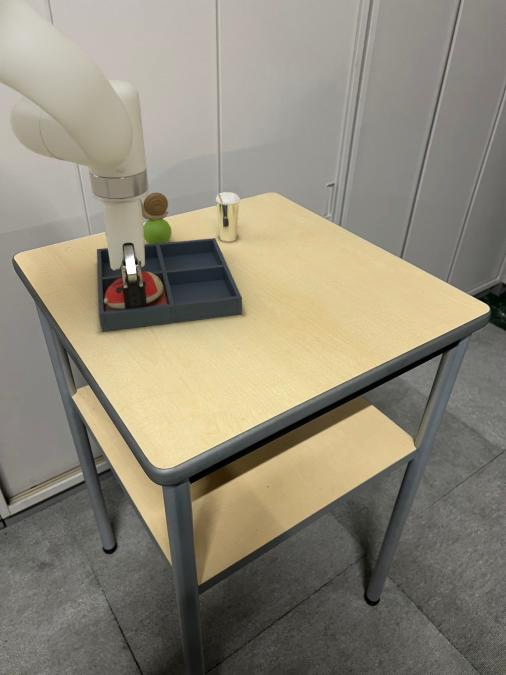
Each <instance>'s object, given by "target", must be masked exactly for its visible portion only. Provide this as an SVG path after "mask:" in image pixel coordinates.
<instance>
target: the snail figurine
mask: <svg viewBox="0 0 506 675" xmlns="http://www.w3.org/2000/svg"><path fill="white" fill-rule="evenodd" d="M141 207H142V217H143V218H144V219H146V220H147V221H146V222H145V223H143V228H144V242H146V243H147V244H156V243H159V244H160V243H168V242H170V240H171V238H172V234H173V233H172V227H171V225H170V224H169V223H168V221H167V220H166V219H165V218H166V217H167V216H168V214H169V211H168V207H169V201H168V198H167V197H166V195H164V194H163V193H161V192H152V193H150V194H149V193H148V194H147V195H146V196H145V197H144V200H143V201H142V200H141Z"/></svg>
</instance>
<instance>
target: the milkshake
mask: <svg viewBox="0 0 506 675" xmlns="http://www.w3.org/2000/svg"><path fill="white" fill-rule="evenodd" d="M240 202H241V198H240V196H239V195H238V194H237V193H235V192H232V191H230V192H229V191H223V192H220V193H218V194H217V195H216V197H215V204H216V205H215V206H216V212H217V221H218V232H219V238H220V240H221V241H222V242H228V243H229V242H234V241H235V240H237V237H238V236H237V233H238V221H239V210H240Z"/></svg>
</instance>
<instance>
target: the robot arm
mask: <svg viewBox="0 0 506 675" xmlns="http://www.w3.org/2000/svg"><path fill="white" fill-rule="evenodd" d="M0 83H1V84H2V85H5V86H7V87H8V88H11V89H12V90H14V91H15V92H17V93H19V97H17V99H16V100H15V101H14V103H13V105H12V107H11V110H10V116H9V119H10V126H11V130H12V132H13V134H14V136H15V138H16V139H17V141H19V143H20V144H21V145H23V147H25V148H26V149H27V150H30V151H31V152H33V153H35V154H37V155H40V156H44V157H48V158H52V159H55V160H58V161H64V162H69V163H72V164H73V163H74V164H76V165H77V164H78V165H81V166H85V167H87V168H88V175H89V180H90V186H91V192H92V197H93V198H94V199H95V200H98V201H100V202H101V210H102V219H103V220H102V221H103V227H104V233H105V238H106V245H107V248H108V252H109V259H110V266H111V269H112V270H114V271H115V270H116V269H121V276H122V278H123V285H122V290H123V297H124V303H125V309H131V308H140V307H147V301H146V292H145V284H144V283H143V281H142V273H141V272H142V270H141V268H142V267H143V266H144V265H145V245H146V244H145V239H144V228H143V227H144V219H143V218H144V217H143V216H142V207H141V201H142V199H144V198H146V197H147V196H148V195H149V192H150V190H149V181H148V169H147V161H146V151H145V150H146V148H145V141H144V140H145V139H144V131H143V130H144V129H143V121H142V110H141V100H140V93H139V91H138V89H137V88H136V86H135V85H134V84H132V83H131V82H130V81H127V80H124V79H123V80H122V79H113V78H112V79H111V78H110V79H109V78H107V76H106V75H105V74H104V72H103V71H102V70H101V67H99V65H97V63H96V62H95V61H94V60H93V58H91V56H90V55H89V54H88V53H87V52H86V51H85V50H84V49H83V48H82V47H81V46H80V45H78V43H76V42H75V41H74V40H73V39H72V38H70V36H68V35H67V34H65V33H64V32H63V31H62V30H60V28H59V27H57V26H56V25H54V24H53V23H52V22H51V21H50V20H49V19H47V17H45V16H44V15H43V14H42V13H40V12H39V11H38V10H37V9H36V8H34V7H33V6H32V5H30V4H29V3H28V2H27V1H25V0H0ZM136 272H138V275H137V274H136ZM126 275H128V276H126Z"/></svg>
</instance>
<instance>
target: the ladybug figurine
mask: <svg viewBox="0 0 506 675" xmlns="http://www.w3.org/2000/svg"><path fill="white" fill-rule="evenodd" d="M141 273H142V281H143V283H144V284H145V292H146V301H147V304H148V303H150V302H152V301H154V300H155V299H157V298H158V297H159V296H160V295H161V294H162V293H163V290H164V287H163V284H162V282H161V280H160V279H159V278H158V277H157V276H156V275H155V274H153V273H151V272H141ZM136 274H137V275H138V272H136ZM126 276H128V275H126ZM122 285H123V278H122V277H121V278H118V279H117V280H116V281H114V282H113V283H112V284H111V285H110V286H109V288H108V289H107V291H106V294H105V299H104V303H105V304H106V305H107V306H109V307H111V308H114V309H125V303H124V297H123V290H122Z"/></svg>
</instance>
